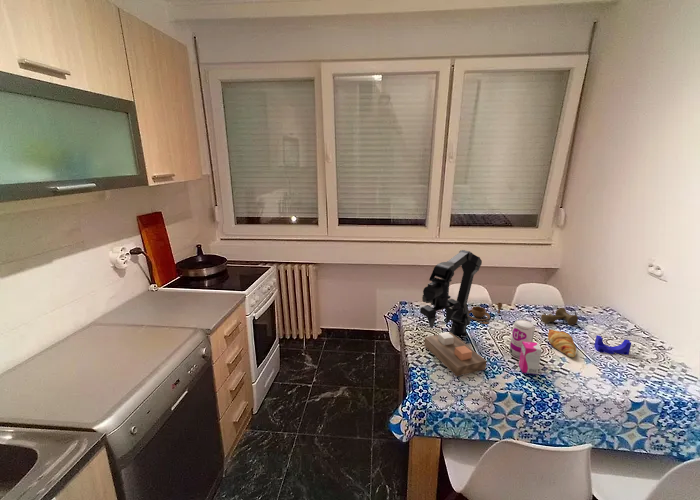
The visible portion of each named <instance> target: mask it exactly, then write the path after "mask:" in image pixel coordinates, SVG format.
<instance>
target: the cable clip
mask: <svg viewBox="0 0 700 500" xmlns="http://www.w3.org/2000/svg"><path fill="white" fill-rule="evenodd" d="M623 339H624V338H623ZM603 340H604V339H603V337H602V336H601V335H599V334H598V335H596V336H595V340H594V344H593V348H594V349H595V350H596V352H597V353H598V352H599V353H604V354H610V355H614V353H615V354H620V355H625V356H629V354H630V351H631V346H632V342H631V341H630V340H629V339H624V340H623V341H622V343H621V344H619V345H615V346H611V345H606V344H605V343H604V341H603Z"/></svg>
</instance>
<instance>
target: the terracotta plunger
mask: <svg viewBox="0 0 700 500" xmlns="http://www.w3.org/2000/svg"><path fill="white" fill-rule="evenodd" d="M454 355H455V356H457V357H458V358H459V359H460V360H461V361H463V360H467V359H471V357H472V351H471V350H470V349H468V348H467V347H466V346H460V347H455V352H454Z"/></svg>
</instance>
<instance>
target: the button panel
mask: <svg viewBox="0 0 700 500" xmlns="http://www.w3.org/2000/svg"><path fill="white" fill-rule="evenodd" d="M448 333H449V334H451V335H452V336H453V337H454V342H453V344H449V345H443V344H442V343H441V342H439V341H438V334H435V335H429V336H425V337H424V339H423V341H424V344H423V345H424V347H426V348H427V350H429V351H430V352H431V353H432V354H433V355H434V356H435V357H436V358H437V359H438V360H439V361H440V362H441V363H442V364H443V365H444V366H445V367H446V368H447V369H449V370H450V372H452V374H454V375H455V377H460V376H466V375H468V374H473V373H476V372H481V371H484V370H486V369H487V360H486V359H485V358H484V357H482V356H481V354H479V353H477V352H476V351H475V350H474V349H473V348H471V347H470V346H469V345H467V344H466V343H464V342H463V341H462V340H461V339H460V338H459V337H456V336H455V335H454V334H453V333H451V332H450V331H449V332H448ZM460 346H466V347H467V348H468V349H470V350H471V351H472V357H471V359H467V360H463V361H461V360H460V359H459V358H458V357H457V356H455V355H454V352H455V347H460Z"/></svg>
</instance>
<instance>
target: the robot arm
mask: <svg viewBox="0 0 700 500" xmlns="http://www.w3.org/2000/svg"><path fill="white" fill-rule="evenodd" d="M481 266H482V259H481V257H480V256H477V255H476V254H474V253H473V252H471V251H469V250H465V249H461V250H459V251H458V253H457V254H455V255H454V256H453V257H451V258H450V259H448V260H447V261H443V262H442V261H441V262H439V263H437V264H435V266H434V268H433V270H432V273H431V274H430V277H429V279H428V281H429V283H427V286H425V287H424V288H423V290H422V297H421V298H422V302H423V303H425V304H427V305H425V306H421V307H420V309H419V314H421V315H423V316H425V317H426V319H427V321H428V324H429V328H430V329H433V328H434V325H435V322H436V319H437V312H440V311H442V310H445V323H446V324H448V323H450V321H451V322H452V323H451V326H450V328H451V329H449V331H448V332H449V333H450V332H451V333H452V334H453V335H455V336H456V337H457V338H459V337H464V336H468V335H469V333H467V326H470V324H471V320H472V319H471V318H470V317H469V316H470V314H469V315H468V312H469V310H470V309H469V307H468V300H469V297H470V291H471V289H472V284H473V281H474V276H475V274H477V272H479V270H480V268H481ZM460 267H461V269H462V277H461V280H460V285H459V288H458V289H459V291H458V292H457V293H458V294H457V297H456V299H454V298H451V296H450V295H449V294H450V283H451V282H452V279H453V277H454V276H455V272H456V270H458V269H459V268H460ZM428 304H430V305H431V306H430V305H428ZM432 306H433V307H432Z"/></svg>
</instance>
